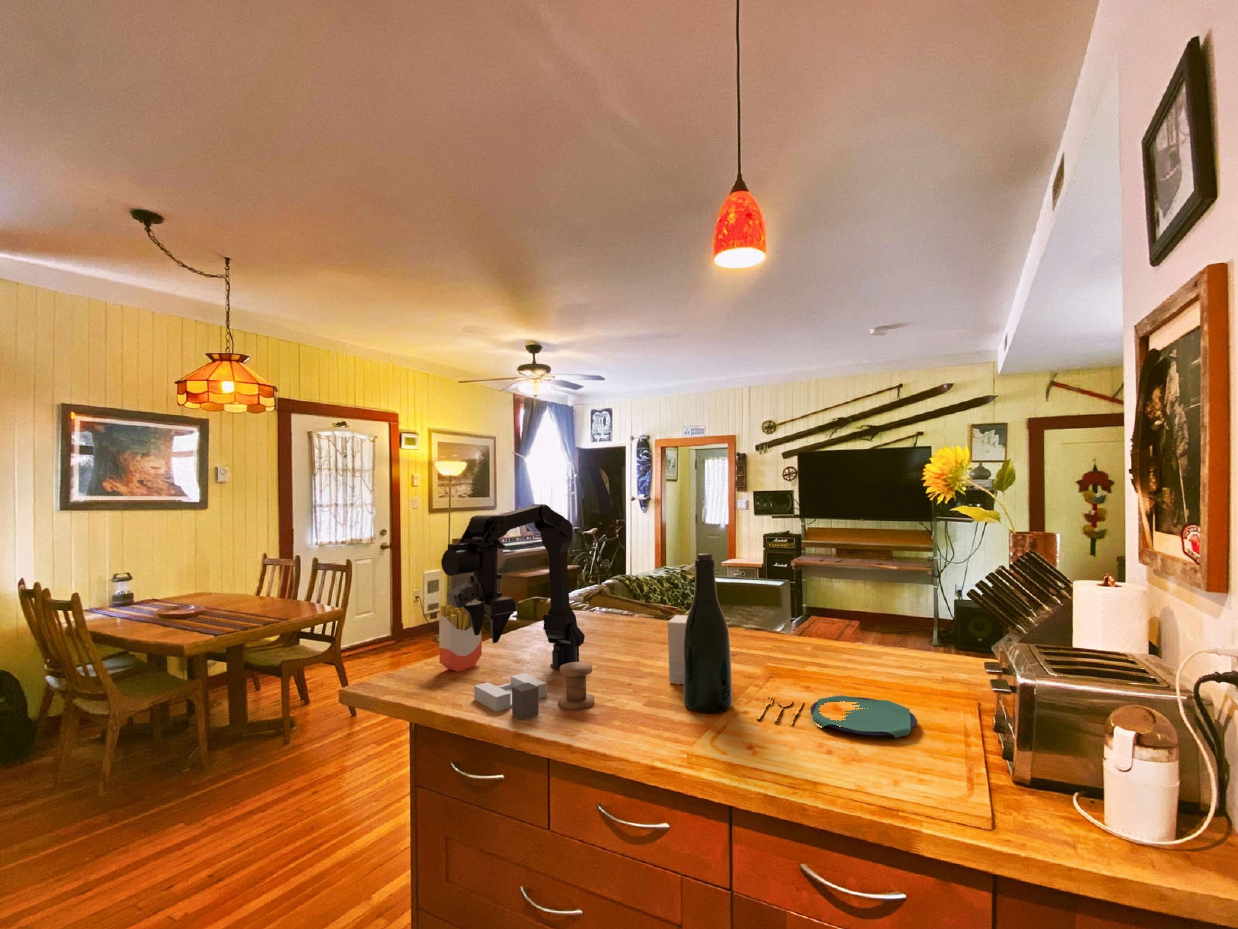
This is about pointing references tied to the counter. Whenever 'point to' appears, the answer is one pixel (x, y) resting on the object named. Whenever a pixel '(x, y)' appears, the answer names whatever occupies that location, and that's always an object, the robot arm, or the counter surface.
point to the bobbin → (576, 686)
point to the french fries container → (457, 639)
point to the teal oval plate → (868, 717)
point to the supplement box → (676, 648)
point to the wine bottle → (706, 646)
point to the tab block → (525, 701)
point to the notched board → (505, 692)
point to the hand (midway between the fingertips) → (485, 639)
